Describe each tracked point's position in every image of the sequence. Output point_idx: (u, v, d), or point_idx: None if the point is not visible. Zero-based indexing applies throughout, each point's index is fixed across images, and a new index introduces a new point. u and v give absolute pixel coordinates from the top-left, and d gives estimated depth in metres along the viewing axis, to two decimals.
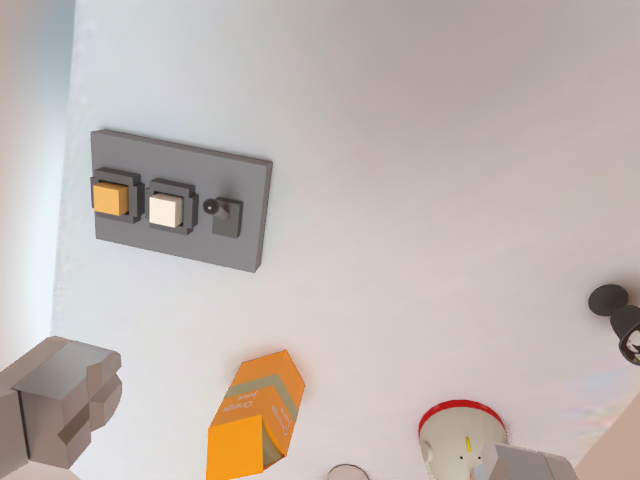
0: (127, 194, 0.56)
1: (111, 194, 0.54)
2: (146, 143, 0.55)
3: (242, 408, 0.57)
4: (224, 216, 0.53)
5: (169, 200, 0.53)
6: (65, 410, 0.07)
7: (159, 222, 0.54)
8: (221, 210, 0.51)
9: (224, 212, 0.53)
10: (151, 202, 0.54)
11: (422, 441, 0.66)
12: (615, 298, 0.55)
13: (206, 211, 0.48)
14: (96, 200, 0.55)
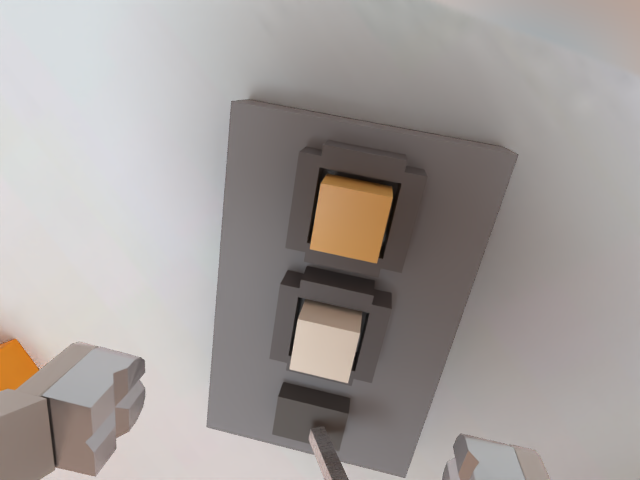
0: None
1: (366, 243, 0.21)
2: (470, 286, 0.25)
3: None
4: None
5: None
6: (94, 417, 0.07)
7: (299, 340, 0.23)
8: None
9: None
10: (345, 334, 0.23)
11: None
12: None
13: None
14: (349, 196, 0.20)
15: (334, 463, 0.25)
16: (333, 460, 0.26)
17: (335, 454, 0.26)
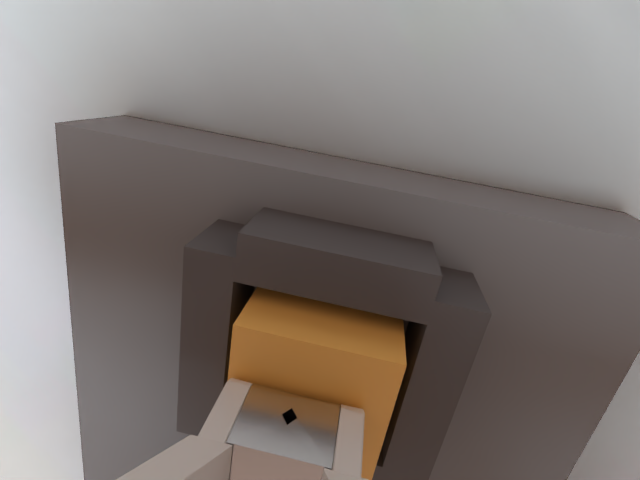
0: None
1: None
2: None
3: None
4: None
5: None
6: (277, 464, 0.07)
7: None
8: None
9: None
10: None
11: None
12: None
13: None
14: (303, 356, 0.08)
15: None
16: None
17: None
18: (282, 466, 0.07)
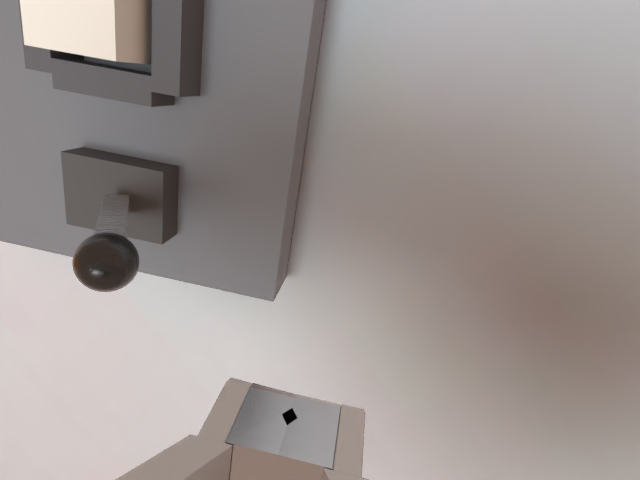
0: None
1: None
2: None
3: None
4: None
5: (119, 32, 0.14)
6: (277, 464, 0.07)
7: None
8: None
9: None
10: None
11: None
12: None
13: (77, 264, 0.13)
14: None
15: (115, 217, 0.16)
16: (115, 215, 0.16)
17: (124, 212, 0.17)
18: (282, 466, 0.07)
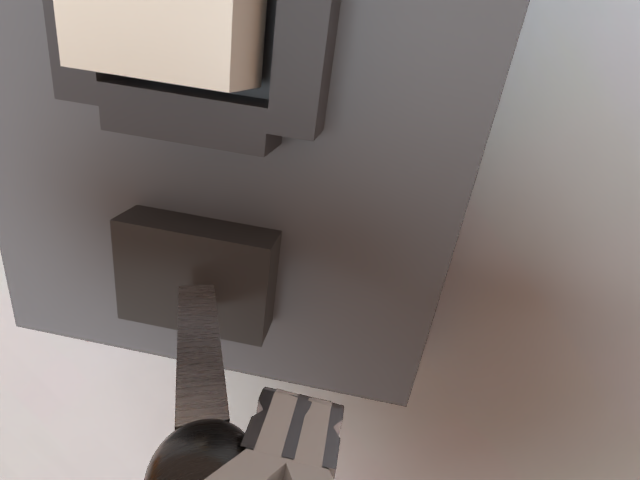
0: None
1: None
2: None
3: None
4: None
5: (235, 40, 0.08)
6: (333, 478, 0.07)
7: None
8: None
9: None
10: None
11: None
12: None
13: None
14: None
15: (203, 349, 0.10)
16: (203, 343, 0.10)
17: (215, 332, 0.10)
18: None
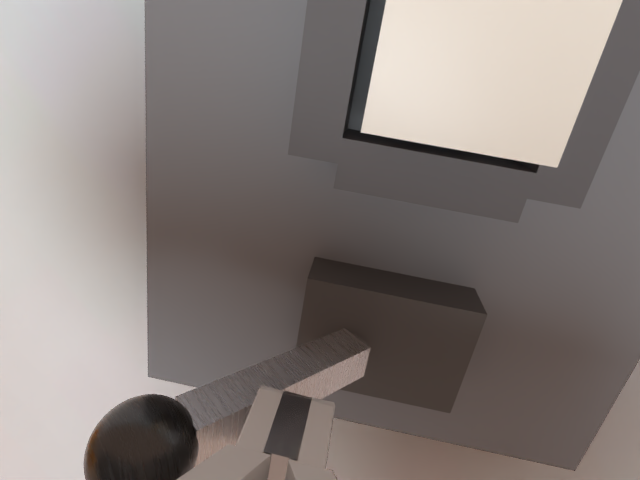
0: None
1: None
2: None
3: None
4: None
5: None
6: None
7: (403, 1, 0.07)
8: None
9: None
10: None
11: None
12: None
13: None
14: None
15: (275, 377, 0.09)
16: (283, 373, 0.09)
17: (303, 375, 0.10)
18: None
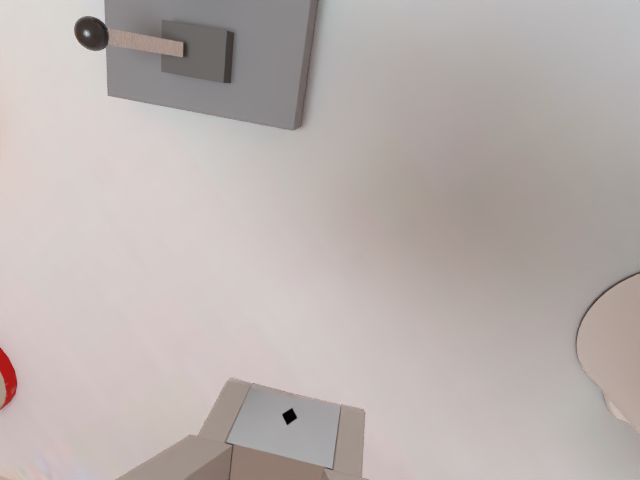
0: None
1: None
2: None
3: None
4: None
5: None
6: (277, 463, 0.07)
7: None
8: None
9: (154, 52, 0.29)
10: None
11: None
12: None
13: None
14: None
15: (139, 34, 0.28)
16: None
17: (150, 36, 0.28)
18: (283, 466, 0.07)
